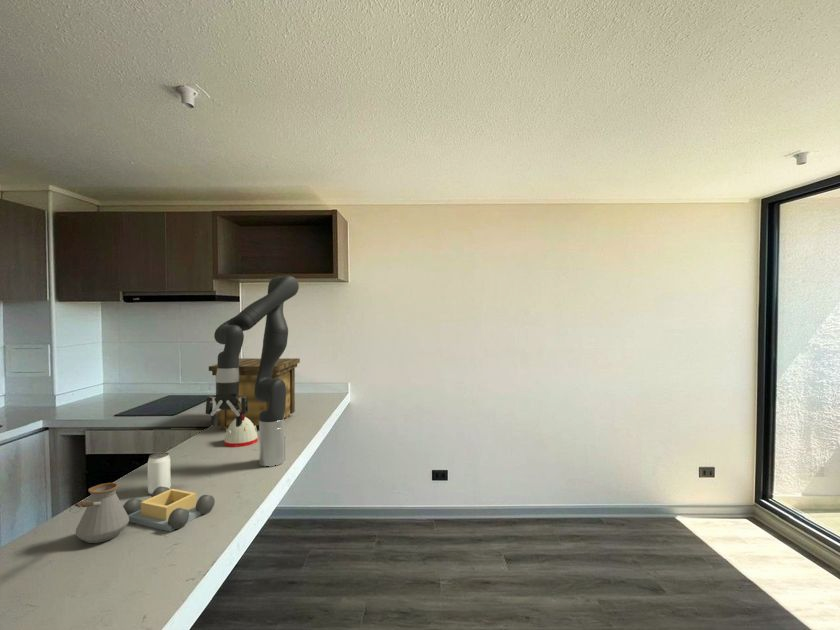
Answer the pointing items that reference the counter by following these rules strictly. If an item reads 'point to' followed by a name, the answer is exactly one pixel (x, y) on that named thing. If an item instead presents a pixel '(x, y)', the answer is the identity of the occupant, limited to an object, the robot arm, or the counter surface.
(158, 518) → the chassis
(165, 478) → the can
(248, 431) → the kitchen timer
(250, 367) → the crate
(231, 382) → the robot arm
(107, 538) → the coffee pot
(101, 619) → the counter surface
